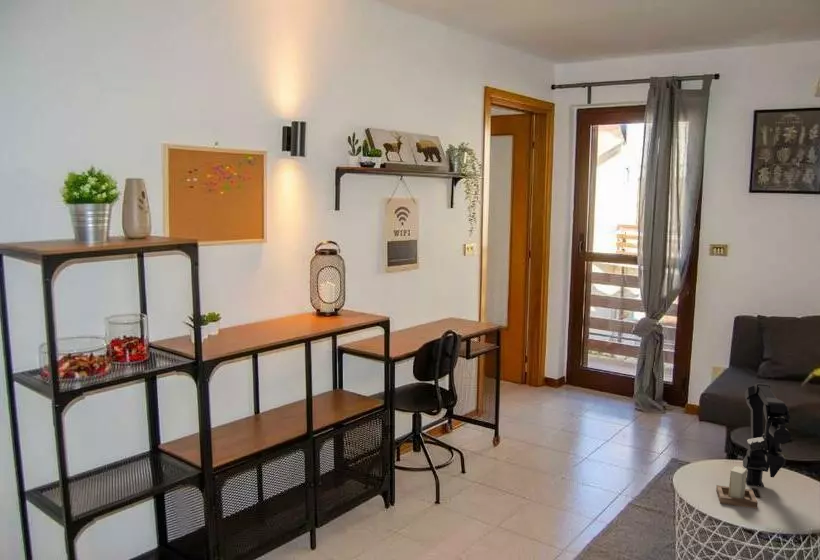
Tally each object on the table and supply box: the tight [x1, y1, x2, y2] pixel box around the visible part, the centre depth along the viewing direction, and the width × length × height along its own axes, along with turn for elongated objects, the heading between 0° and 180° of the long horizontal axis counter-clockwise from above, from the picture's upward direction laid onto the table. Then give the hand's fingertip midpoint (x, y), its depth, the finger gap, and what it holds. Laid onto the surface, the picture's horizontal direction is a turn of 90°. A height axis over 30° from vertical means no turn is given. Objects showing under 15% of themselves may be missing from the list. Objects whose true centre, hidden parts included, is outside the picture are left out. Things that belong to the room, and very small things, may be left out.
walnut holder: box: [715, 484, 759, 509], centre depth 257 cm, size 11×13×2 cm
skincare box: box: [728, 465, 747, 499], centre depth 257 cm, size 6×4×12 cm
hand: (769, 472), depth 252 cm, fingers open, 9 cm apart
